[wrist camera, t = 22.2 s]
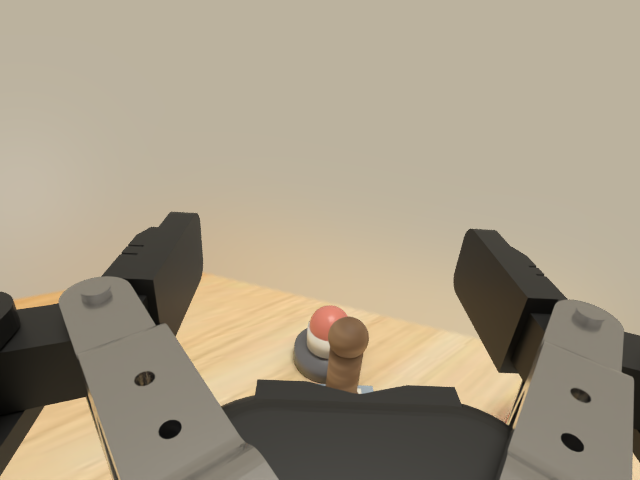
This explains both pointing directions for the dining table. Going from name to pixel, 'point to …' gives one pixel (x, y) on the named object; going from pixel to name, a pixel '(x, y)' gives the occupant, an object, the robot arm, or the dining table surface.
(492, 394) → the dining table surface
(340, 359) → the pawn
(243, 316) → the dining table surface
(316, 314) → the dome plunger
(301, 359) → the dome housing
